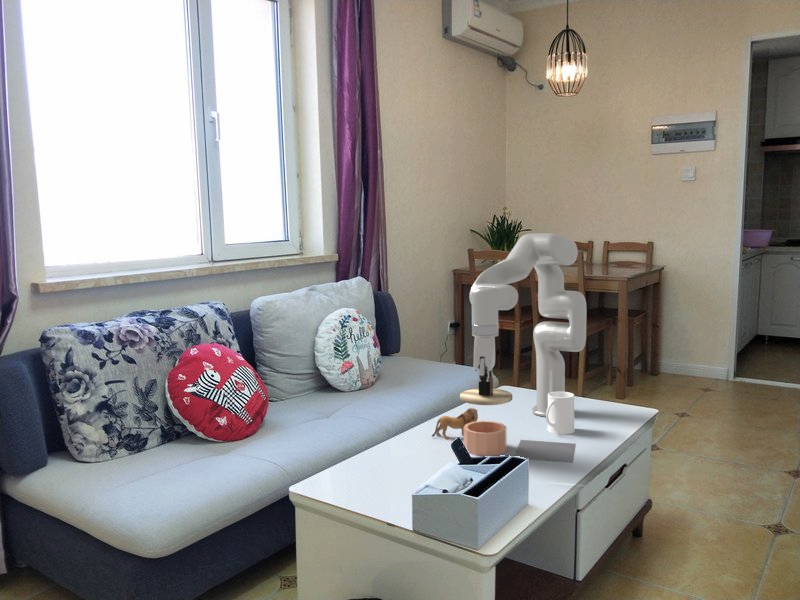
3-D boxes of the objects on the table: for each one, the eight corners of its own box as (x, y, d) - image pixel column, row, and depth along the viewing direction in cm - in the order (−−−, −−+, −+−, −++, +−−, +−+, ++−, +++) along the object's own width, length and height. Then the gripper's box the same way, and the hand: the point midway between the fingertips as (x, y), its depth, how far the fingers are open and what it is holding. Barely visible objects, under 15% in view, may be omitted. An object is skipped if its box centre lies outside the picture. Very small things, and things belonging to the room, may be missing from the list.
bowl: (469, 442, 204) (468, 419, 203) (508, 445, 200) (508, 422, 199) (460, 455, 192) (460, 432, 191) (502, 459, 189) (502, 434, 188)
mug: (555, 440, 203) (555, 401, 202) (534, 433, 210) (534, 396, 209) (580, 432, 211) (580, 394, 209) (559, 425, 217) (559, 389, 216)
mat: (520, 441, 203) (520, 439, 203) (575, 445, 198) (575, 443, 198) (513, 460, 188) (513, 457, 188) (572, 464, 183) (572, 462, 183)
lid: (465, 390, 204) (465, 371, 203) (515, 392, 199) (515, 373, 199) (455, 403, 189) (454, 382, 189) (508, 406, 185) (508, 385, 184)
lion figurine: (476, 433, 212) (476, 405, 211) (479, 438, 207) (479, 410, 206) (430, 435, 211) (429, 407, 210) (432, 441, 206) (431, 412, 205)
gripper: (477, 325, 201) (478, 385, 203) (466, 334, 185) (467, 399, 187) (502, 326, 199) (503, 386, 201) (493, 335, 183) (494, 401, 185)
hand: (485, 392), depth 194 cm, fingers closed on lid, 4 cm apart
